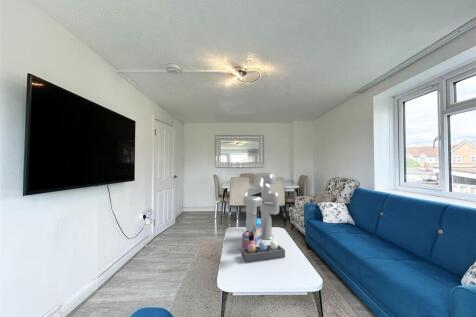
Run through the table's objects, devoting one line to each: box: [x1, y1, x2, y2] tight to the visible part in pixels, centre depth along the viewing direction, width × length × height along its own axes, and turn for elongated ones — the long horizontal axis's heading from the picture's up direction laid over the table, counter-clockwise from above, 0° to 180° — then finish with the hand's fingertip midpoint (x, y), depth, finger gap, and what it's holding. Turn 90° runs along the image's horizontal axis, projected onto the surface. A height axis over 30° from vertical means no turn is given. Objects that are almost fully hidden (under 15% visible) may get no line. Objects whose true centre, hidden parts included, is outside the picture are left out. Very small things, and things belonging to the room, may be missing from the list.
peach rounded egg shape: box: [248, 244, 255, 254], centre depth 163 cm, size 6×6×6 cm
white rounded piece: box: [269, 240, 279, 251], centre depth 168 cm, size 6×6×6 cm
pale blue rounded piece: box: [258, 241, 268, 252], centre depth 165 cm, size 6×6×6 cm
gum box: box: [241, 226, 262, 248], centre depth 185 cm, size 24×8×14 cm, turn 153°
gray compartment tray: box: [240, 244, 286, 264], centre depth 165 cm, size 12×30×6 cm, turn 107°
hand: (251, 240), depth 162 cm, fingers closed
